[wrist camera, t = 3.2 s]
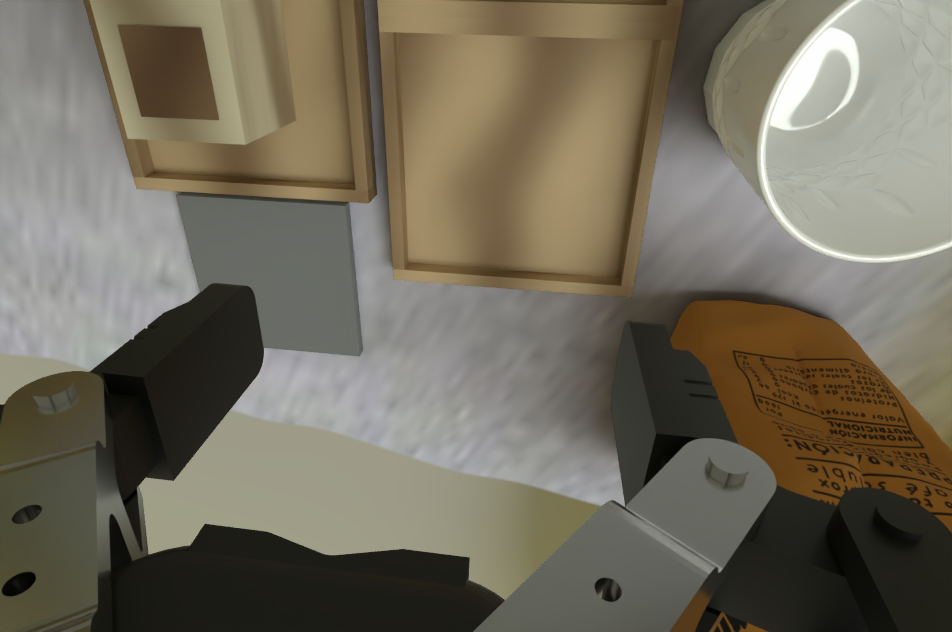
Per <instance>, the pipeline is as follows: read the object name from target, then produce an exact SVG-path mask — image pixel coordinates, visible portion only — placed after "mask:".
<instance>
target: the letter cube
mask: <svg viewBox="0 0 952 632" xmlns="http://www.w3.org/2000/svg"><path fill="white" fill-rule="evenodd" d="M90 4H91V8H92V11H93V15H94V18H95V22H96V26H97V29H98V33H99V36H100V40H101V44H102V47H103V51H104V55H105V58H106V62H107V65H108V69H109V73H110V76H111V80H112V83H113V87H114V91H115V94H116V98H117V102H118V105H119V109H120V112H121V116H122V120H123V123H124V127H125V131H126V134H127V138H128V139H145V140H164V141H183V142H202V143H221V144H240V145H246V144H248V143H250V142H252V141H255V140H257V139H259V138H261V137H263V136H265V135H267V134H269V133H271V132H274V131H276V130H278V129H280V128H282V127H284V126H286V125H288V124H290V123H293V122H295V121H297V120H296V113H295V105H294V97H293V90H292V82H291V74H290V67H289V59H288V52H287V44H286V36H285V29H284V21H283V13H282V6H281V0H90Z"/></svg>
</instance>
